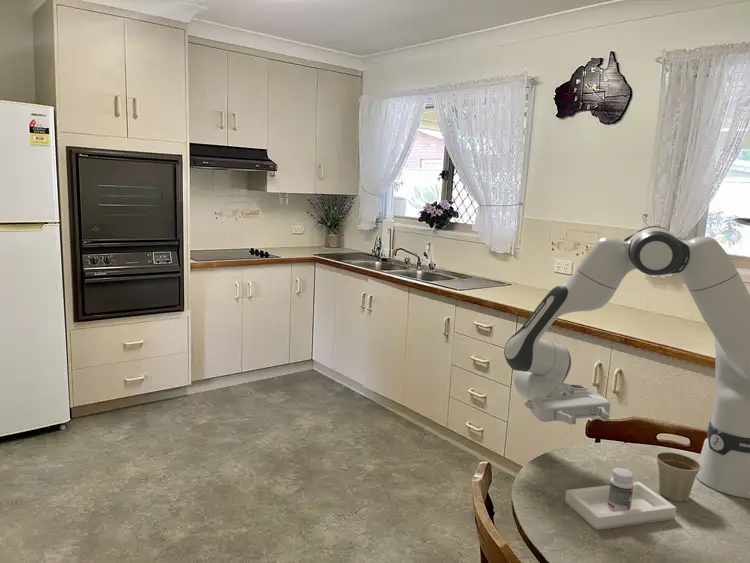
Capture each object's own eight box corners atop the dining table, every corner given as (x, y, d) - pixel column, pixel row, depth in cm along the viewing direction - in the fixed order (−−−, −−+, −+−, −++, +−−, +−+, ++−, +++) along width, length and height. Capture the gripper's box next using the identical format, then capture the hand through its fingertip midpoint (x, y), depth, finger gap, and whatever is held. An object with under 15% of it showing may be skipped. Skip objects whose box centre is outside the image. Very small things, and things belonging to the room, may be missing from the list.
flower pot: (645, 482, 136) (649, 449, 135) (685, 486, 135) (690, 453, 134) (660, 503, 127) (665, 468, 126) (703, 508, 126) (709, 472, 125)
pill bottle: (632, 515, 120) (637, 479, 119) (609, 511, 121) (614, 475, 120) (627, 503, 125) (632, 468, 124) (605, 500, 126) (609, 465, 125)
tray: (637, 492, 131) (639, 481, 131) (674, 519, 121) (676, 507, 120) (564, 501, 125) (566, 490, 125) (597, 530, 115) (598, 517, 115)
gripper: (522, 390, 143) (553, 410, 130) (589, 385, 148) (626, 403, 135) (520, 414, 144) (551, 436, 130) (587, 407, 149) (624, 428, 136)
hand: (590, 419), depth 133 cm, fingers open, 8 cm apart
